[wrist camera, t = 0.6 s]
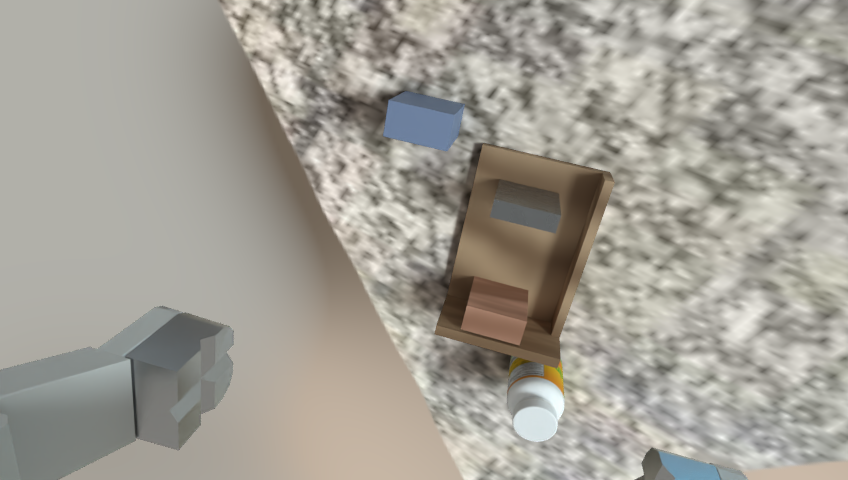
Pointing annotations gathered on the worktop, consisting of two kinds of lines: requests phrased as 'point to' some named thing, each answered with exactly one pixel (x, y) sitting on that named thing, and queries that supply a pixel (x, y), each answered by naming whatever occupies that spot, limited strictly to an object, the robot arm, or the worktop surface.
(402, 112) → the blue block
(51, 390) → the robot arm
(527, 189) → the bookend
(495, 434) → the worktop surface
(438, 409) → the worktop surface
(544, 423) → the supplement bottle
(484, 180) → the rack
